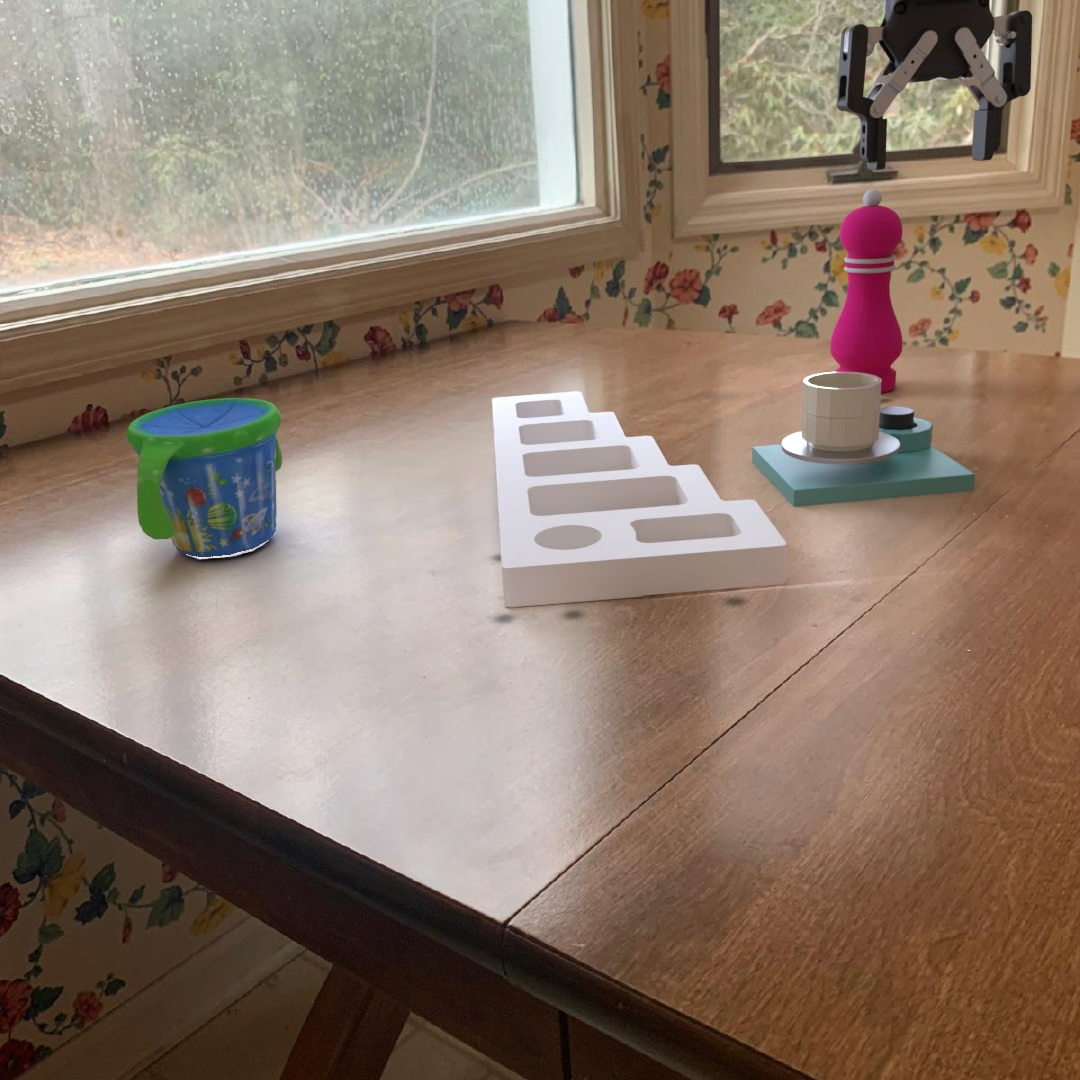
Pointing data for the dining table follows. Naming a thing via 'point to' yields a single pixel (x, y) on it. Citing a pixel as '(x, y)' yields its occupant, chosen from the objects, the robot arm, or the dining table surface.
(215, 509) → the snack cup
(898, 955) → the dining table surface
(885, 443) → the weighing plate
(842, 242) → the pepper mill
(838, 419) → the beige cup
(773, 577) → the holder
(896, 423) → the tare button
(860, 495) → the scale
